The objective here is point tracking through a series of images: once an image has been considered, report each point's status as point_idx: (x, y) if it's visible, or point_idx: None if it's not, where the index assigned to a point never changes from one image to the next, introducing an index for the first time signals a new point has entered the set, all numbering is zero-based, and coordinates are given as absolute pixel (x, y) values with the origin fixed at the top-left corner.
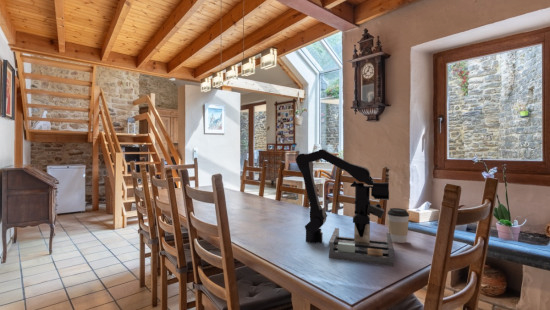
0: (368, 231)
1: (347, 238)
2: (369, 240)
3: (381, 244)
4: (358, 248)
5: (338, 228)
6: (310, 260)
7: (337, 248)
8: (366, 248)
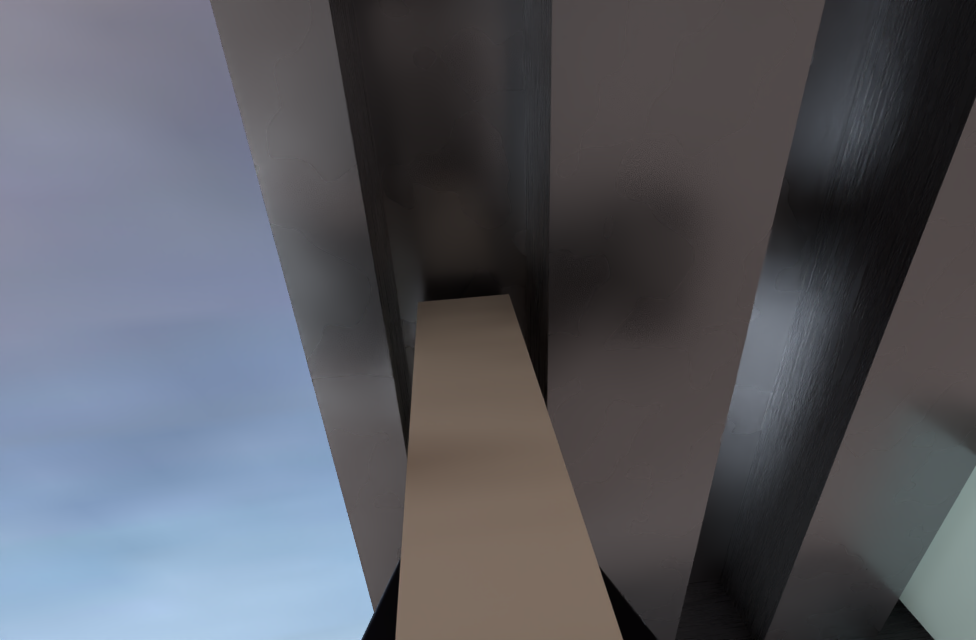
0: (582, 565)
1: None
2: (529, 359)
3: (590, 61)
4: (899, 443)
5: None
6: None
7: (885, 614)
8: (901, 344)
